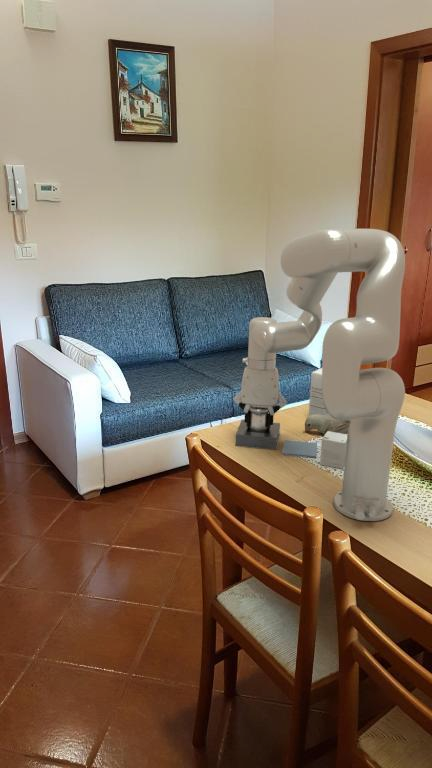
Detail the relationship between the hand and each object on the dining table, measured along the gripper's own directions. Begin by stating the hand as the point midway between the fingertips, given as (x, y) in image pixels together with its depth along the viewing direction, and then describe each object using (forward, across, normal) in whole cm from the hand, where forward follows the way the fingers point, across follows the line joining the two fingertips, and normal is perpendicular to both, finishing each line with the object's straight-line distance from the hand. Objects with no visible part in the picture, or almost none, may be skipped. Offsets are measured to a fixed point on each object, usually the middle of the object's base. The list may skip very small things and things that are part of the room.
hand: (258, 425), depth 157 cm
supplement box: (+5, +19, +24) cm, 31 cm away
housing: (+4, 0, 0) cm, 4 cm away
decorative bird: (+5, +20, +8) cm, 23 cm away
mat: (+4, +12, -4) cm, 13 cm away
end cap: (+4, 0, 0) cm, 4 cm away
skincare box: (+5, +21, -10) cm, 24 cm away
